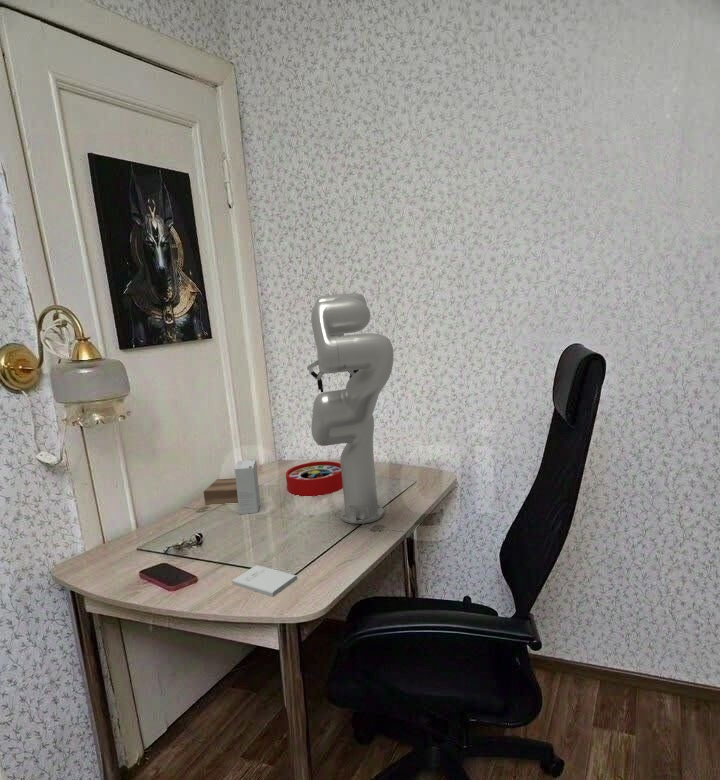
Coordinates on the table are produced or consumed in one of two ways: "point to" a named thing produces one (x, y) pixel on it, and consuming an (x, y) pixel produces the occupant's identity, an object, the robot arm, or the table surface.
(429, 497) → the table surface
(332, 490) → the toy clock
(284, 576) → the external hard drive
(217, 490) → the walnut block
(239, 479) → the skincare box
